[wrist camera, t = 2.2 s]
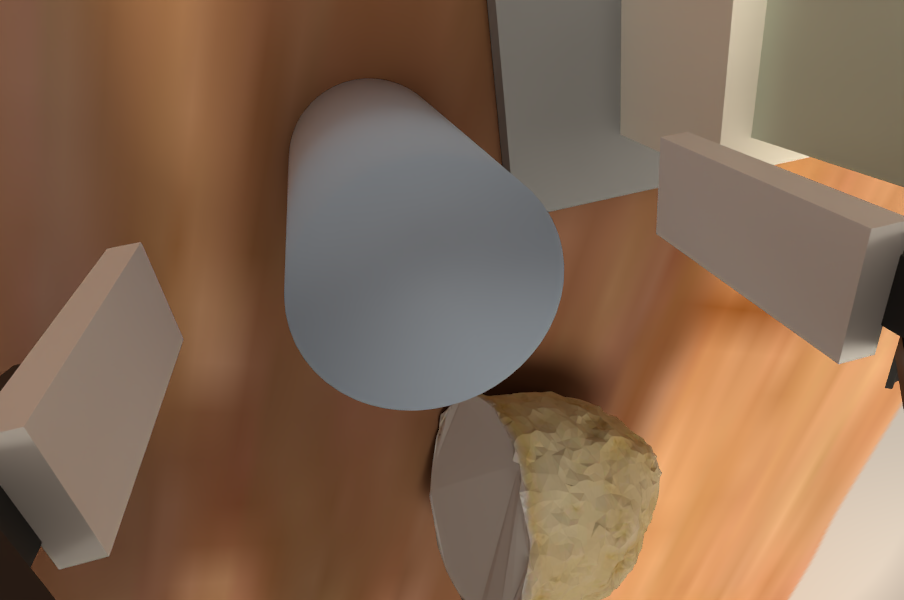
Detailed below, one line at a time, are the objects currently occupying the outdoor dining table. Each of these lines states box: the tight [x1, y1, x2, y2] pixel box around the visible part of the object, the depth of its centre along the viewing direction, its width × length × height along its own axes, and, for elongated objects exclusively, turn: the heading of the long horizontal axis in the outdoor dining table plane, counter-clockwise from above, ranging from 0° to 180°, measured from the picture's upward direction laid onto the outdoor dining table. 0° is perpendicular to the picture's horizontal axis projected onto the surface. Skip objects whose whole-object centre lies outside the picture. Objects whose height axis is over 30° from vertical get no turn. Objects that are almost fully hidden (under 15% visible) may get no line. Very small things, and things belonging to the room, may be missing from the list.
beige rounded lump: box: [429, 391, 662, 600], centre depth 26 cm, size 10×10×10 cm
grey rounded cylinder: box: [284, 78, 564, 410], centre depth 17 cm, size 6×6×11 cm
